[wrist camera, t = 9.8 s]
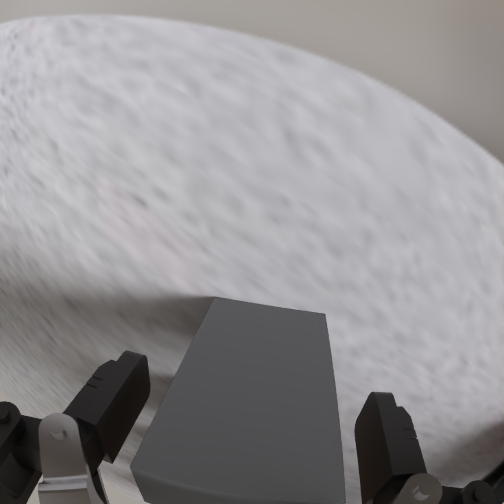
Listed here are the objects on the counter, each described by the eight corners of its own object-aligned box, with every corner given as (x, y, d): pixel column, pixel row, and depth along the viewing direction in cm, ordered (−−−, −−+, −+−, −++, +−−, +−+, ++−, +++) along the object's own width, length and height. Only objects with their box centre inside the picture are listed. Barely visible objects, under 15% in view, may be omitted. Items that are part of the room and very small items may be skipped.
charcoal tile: (214, 296, 14) (130, 466, 5) (325, 314, 13) (345, 502, 5) (212, 339, 15) (144, 501, 6) (313, 355, 14) (317, 530, 6)
